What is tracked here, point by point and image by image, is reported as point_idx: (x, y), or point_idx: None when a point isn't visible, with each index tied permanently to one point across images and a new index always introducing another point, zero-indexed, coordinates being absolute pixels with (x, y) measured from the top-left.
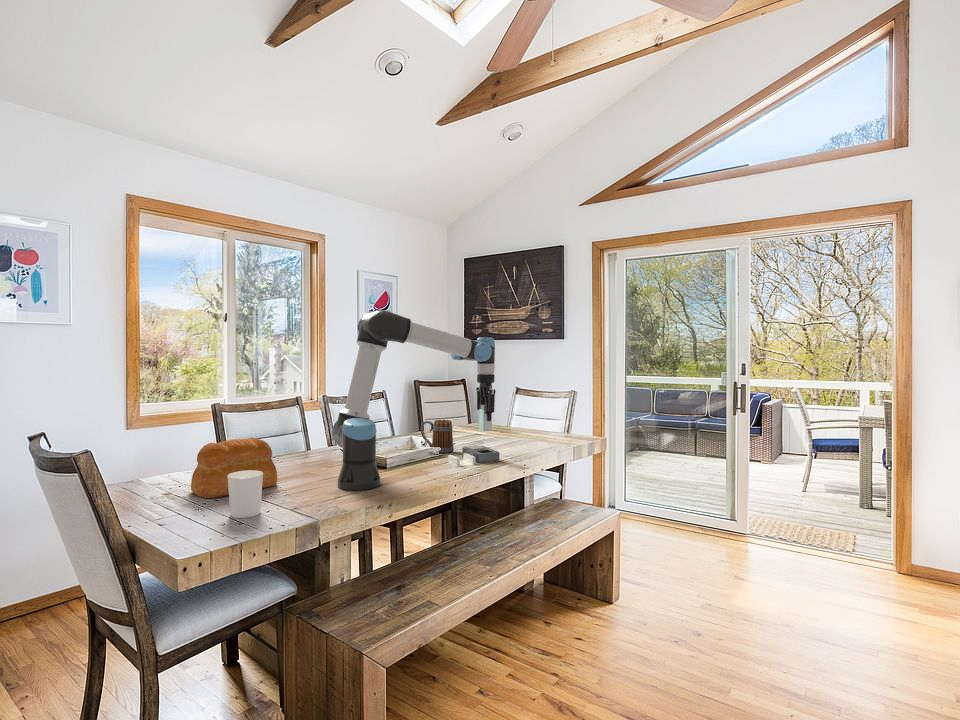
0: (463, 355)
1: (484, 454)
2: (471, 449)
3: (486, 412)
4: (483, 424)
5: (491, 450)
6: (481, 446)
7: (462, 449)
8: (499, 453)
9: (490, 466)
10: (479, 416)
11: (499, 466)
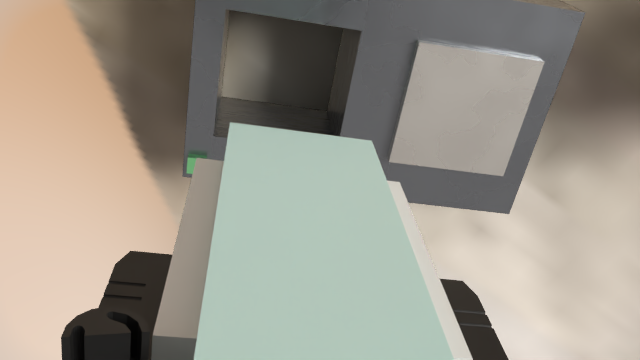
0: None
1: (194, 15)
2: (443, 30)
3: (63, 349)
4: (222, 172)
5: None
6: (488, 190)
7: (572, 7)
8: (184, 171)
9: (148, 16)
10: (410, 266)
11: (114, 80)
